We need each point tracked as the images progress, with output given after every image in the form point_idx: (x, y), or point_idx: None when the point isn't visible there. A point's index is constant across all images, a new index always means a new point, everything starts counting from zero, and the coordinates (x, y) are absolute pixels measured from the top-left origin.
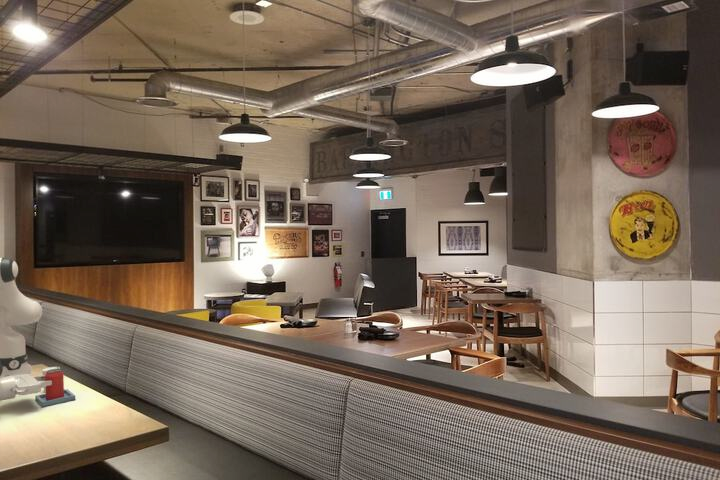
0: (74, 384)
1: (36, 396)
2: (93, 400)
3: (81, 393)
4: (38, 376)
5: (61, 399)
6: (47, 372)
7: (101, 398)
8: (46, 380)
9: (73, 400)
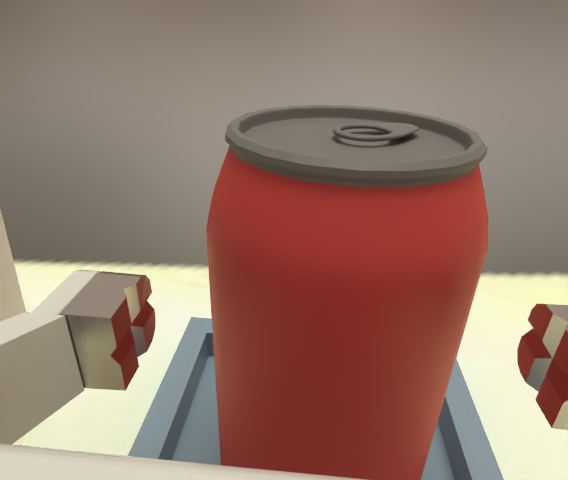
0: (23, 268)
1: None
2: (520, 313)
3: None
4: (11, 338)
5: (482, 443)
6: (416, 171)
7: (495, 283)
8: (402, 340)
9: None
